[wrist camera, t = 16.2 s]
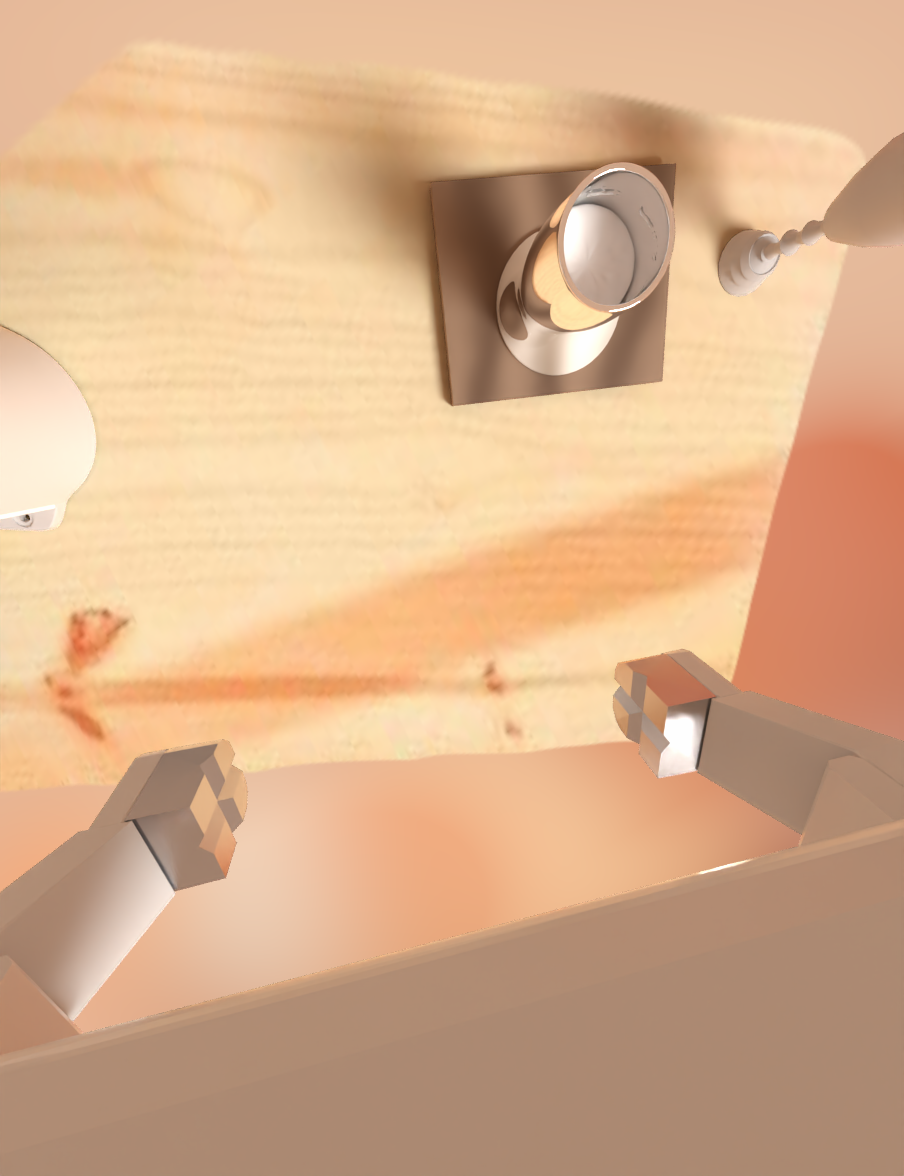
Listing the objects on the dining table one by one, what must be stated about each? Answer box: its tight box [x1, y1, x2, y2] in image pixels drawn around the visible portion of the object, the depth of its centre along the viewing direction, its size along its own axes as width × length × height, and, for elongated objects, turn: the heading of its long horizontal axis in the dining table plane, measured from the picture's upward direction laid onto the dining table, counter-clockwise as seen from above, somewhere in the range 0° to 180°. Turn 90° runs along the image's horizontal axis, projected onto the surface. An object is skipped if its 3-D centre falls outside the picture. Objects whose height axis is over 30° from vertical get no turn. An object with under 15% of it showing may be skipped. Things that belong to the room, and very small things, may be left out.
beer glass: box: [499, 162, 675, 349], centre depth 30 cm, size 7×7×15 cm
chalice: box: [718, 133, 904, 296], centre depth 31 cm, size 7×7×18 cm
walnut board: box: [430, 164, 676, 406], centre depth 37 cm, size 20×16×2 cm
